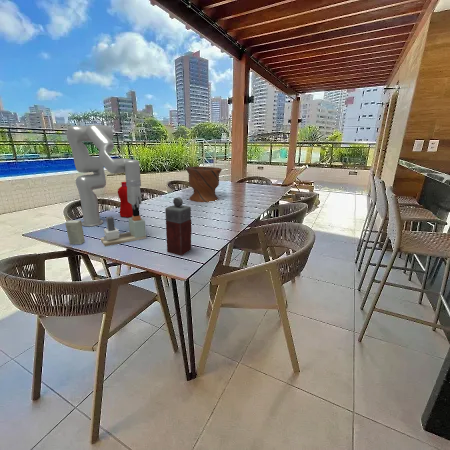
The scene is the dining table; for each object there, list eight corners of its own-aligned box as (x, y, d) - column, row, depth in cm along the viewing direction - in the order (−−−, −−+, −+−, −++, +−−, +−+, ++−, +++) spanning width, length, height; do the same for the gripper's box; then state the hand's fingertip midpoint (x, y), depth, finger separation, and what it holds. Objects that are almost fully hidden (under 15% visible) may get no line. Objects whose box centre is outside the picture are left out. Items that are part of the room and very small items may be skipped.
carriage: (104, 237, 136) (102, 216, 133) (116, 235, 140) (113, 215, 136) (108, 241, 131) (105, 220, 127) (119, 239, 135) (117, 218, 131)
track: (100, 240, 137) (99, 234, 136) (140, 232, 150) (139, 227, 149) (105, 246, 130) (104, 240, 128) (146, 238, 142) (145, 232, 141)
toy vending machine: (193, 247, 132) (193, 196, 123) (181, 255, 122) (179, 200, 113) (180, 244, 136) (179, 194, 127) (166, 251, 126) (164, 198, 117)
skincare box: (85, 241, 135) (81, 220, 131) (81, 244, 131) (77, 222, 127) (73, 241, 135) (69, 219, 131) (68, 244, 131) (64, 222, 127)
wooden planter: (200, 204, 220) (200, 171, 211) (179, 197, 244) (178, 167, 235) (228, 199, 243) (229, 169, 233) (206, 193, 267) (206, 166, 257)
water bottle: (132, 218, 176) (129, 183, 168) (118, 217, 178) (114, 182, 170) (139, 215, 184) (136, 181, 176) (125, 213, 186) (122, 180, 178)
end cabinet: (129, 232, 146) (128, 217, 143) (139, 230, 149) (138, 216, 146) (135, 237, 138) (134, 222, 135) (146, 235, 142) (144, 220, 139)
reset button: (132, 220, 142) (132, 215, 141) (138, 219, 144) (138, 214, 143) (134, 222, 139) (134, 217, 138) (140, 221, 141) (140, 216, 140)
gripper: (122, 181, 138) (125, 213, 144) (131, 186, 127) (133, 220, 132) (135, 180, 142) (138, 211, 148) (145, 184, 131) (147, 218, 137)
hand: (136, 215), depth 140 cm, fingers closed
